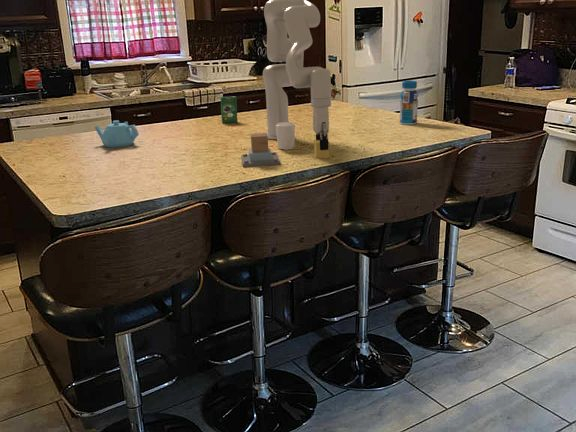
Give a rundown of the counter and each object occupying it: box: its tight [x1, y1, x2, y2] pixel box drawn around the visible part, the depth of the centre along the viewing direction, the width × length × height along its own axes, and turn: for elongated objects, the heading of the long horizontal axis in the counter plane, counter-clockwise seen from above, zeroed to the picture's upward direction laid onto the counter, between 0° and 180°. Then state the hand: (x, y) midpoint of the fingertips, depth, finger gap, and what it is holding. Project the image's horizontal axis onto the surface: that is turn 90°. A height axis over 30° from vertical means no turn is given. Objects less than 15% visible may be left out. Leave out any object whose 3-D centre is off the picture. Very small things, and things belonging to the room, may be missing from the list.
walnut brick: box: [250, 132, 269, 153], centre depth 229 cm, size 6×6×6 cm
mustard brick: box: [313, 139, 330, 159], centre depth 234 cm, size 5×5×6 cm
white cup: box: [276, 122, 296, 151], centre depth 250 cm, size 8×8×10 cm
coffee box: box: [220, 95, 238, 124], centre depth 309 cm, size 8×3×13 cm, turn 103°
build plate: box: [240, 147, 281, 168], centre depth 231 cm, size 14×14×4 cm
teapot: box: [94, 120, 139, 149], centre depth 267 cm, size 15×15×11 cm
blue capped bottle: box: [399, 79, 419, 126], centre depth 288 cm, size 8×8×20 cm
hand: (322, 147), depth 234 cm, fingers open, 9 cm apart
